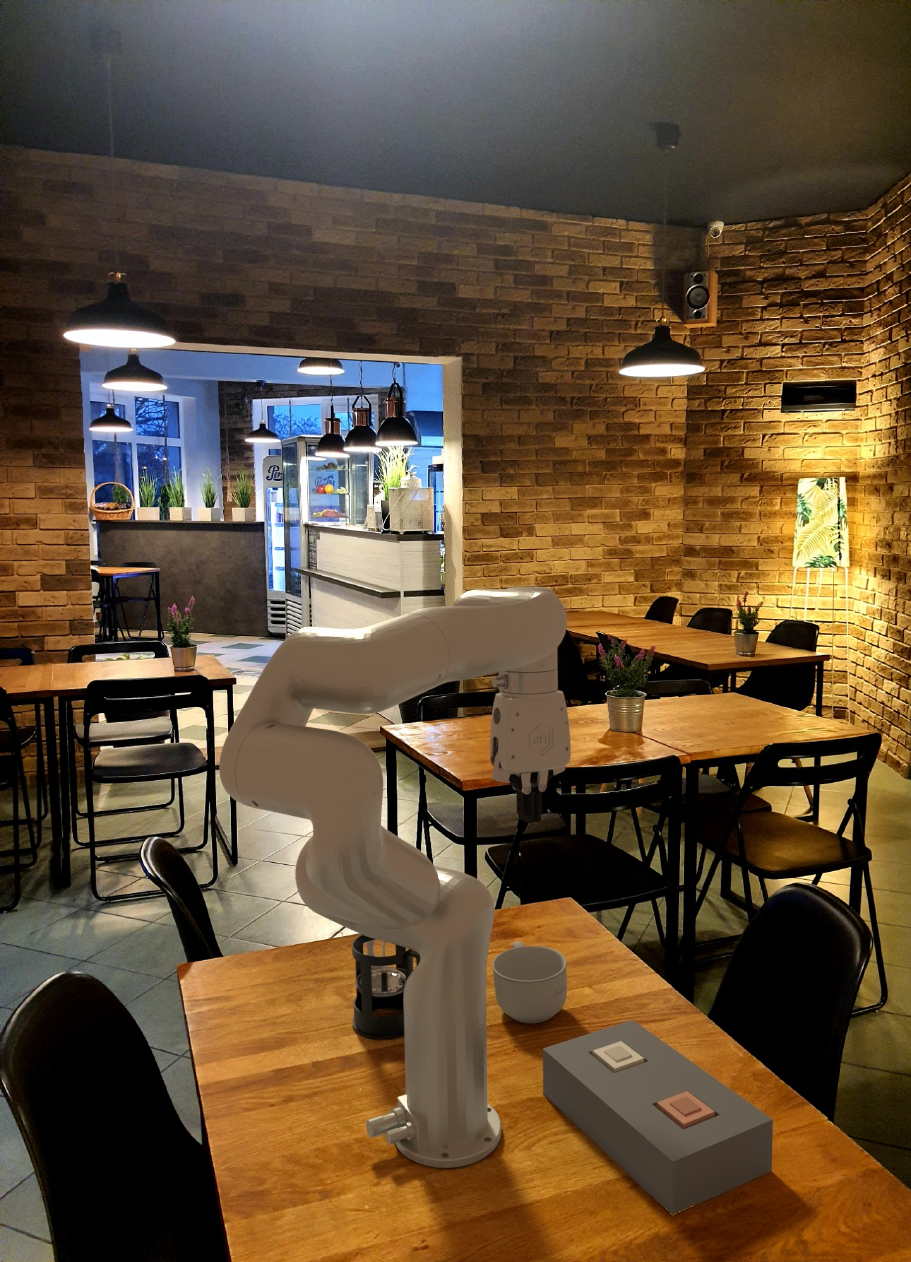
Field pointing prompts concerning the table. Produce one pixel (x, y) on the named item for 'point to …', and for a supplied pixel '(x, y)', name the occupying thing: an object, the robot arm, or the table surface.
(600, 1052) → the key ivory
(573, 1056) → the key console
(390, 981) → the french press
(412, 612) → the robot arm
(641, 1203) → the table surface
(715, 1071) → the table surface
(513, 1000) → the teacup
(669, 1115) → the key terracotta
